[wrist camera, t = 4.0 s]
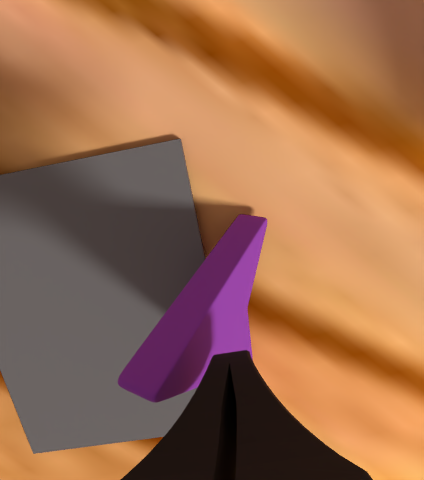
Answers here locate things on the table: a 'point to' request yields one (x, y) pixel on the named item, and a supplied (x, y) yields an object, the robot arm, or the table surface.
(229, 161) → the table surface
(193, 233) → the mat
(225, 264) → the arrowhead
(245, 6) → the table surface
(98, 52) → the table surface
